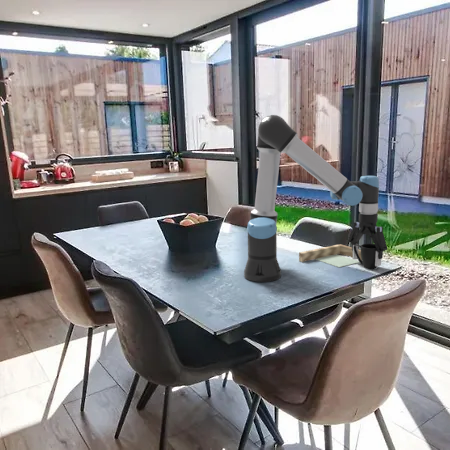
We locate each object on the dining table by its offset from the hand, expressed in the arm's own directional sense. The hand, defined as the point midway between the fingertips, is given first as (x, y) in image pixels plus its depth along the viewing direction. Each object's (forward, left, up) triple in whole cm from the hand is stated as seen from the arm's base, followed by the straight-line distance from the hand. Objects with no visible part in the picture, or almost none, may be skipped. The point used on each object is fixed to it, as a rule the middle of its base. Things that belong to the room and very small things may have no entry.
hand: (366, 262), depth 186 cm
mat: (-4, +13, -2) cm, 14 cm away
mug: (0, 0, -2) cm, 2 cm away
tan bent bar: (-5, +15, -2) cm, 16 cm away
